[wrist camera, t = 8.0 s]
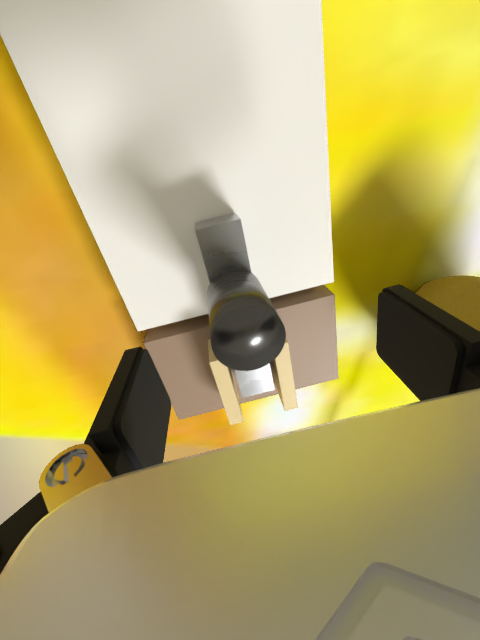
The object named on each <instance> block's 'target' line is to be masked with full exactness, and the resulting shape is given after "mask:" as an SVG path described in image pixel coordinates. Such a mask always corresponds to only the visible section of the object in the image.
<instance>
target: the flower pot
mask: <svg viewBox="0 0 480 640" xmlns="http://www.w3.org/2000/svg"><path fill="white" fill-rule="evenodd" d="M416 294H417V295H419V296H421V297H422V298H424V299H426V300H427V301H429V302H431V303H432V304H434V305H436V306H437V307H439V308H441V309H443V310H444V311H446V312H448V313H449V314H451V315H453V316H454V317H456V318H458V319H459V320H461V321H463V322H464V323H466V324H468V325H470V326H471V327H473V328H475V329H476V330H478V331H480V277H474V276H451V277H445V278H440V279H437V280H433V281H431V282H428V283H426V284H424V285H423V286H422V287H421V288H420V289H419V290H418V291H417V292H416Z"/></svg>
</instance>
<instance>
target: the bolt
mask: <svg viewBox="0 0 480 640" xmlns="http://www.w3.org/2000/svg"><path fill="white" fill-rule="evenodd" d="M195 232H196V236H197V239H198V243H199V246H200V250H201V253H202V257H203V260H204V264H205V267H206V271H207V274H208V278H209V282H210V284H209V286H208V290H207V302H208V313H209V325H210V337H211V347H212V351H213V353H214V355H215V357H216V358H217V359H218V361H220V362H221V363H222V364H223V365H225V366H226V367H228V368H231V369H234V370H235V373H236V377H237V380H238V384H239V388H240V391H241V395H242V398H245V397H249V396H253V395H257V394H261V393H265V392H268V391H272V390H275V388H274V383H273V378H272V373H271V368H270V363H271V362H272V361H273V360H274V359H275V358H276V357H277V356H278V355H279V354H280V352H281V351H282V349H283V347H284V344H285V340H286V331H285V327H284V325H283V322H282V321H281V319H280V317H279V315H278V314H277V312H276V310H275V308H274V307H273V305H272V303H271V301H270V299H269V298H268V296H267V294H266V292H265V291H264V289H263V287H262V285H261V284H260V282H259V280H258V279H257V277H256V276H255V275H254V274H253V273H251V268H250V263H249V258H248V253H247V248H246V243H245V238H244V233H243V228H242V223H241V219H240V218H239V216H238V215H237V214H236V213H231V214H227V215H223V216H219V217H215V218H211V219H207V220H203V221H199V222H195Z"/></svg>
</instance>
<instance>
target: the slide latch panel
mask: <svg viewBox="0 0 480 640" xmlns="http://www.w3.org/2000/svg"><path fill="white" fill-rule="evenodd" d="M0 35H1V37H2V39H3V42H4V44H5V46H6V48H7V50H8V52H9V54H10V57H11V59H12V61H13V63H14V65H15V67H16V70H17V72H18V74H19V76H20V78H21V80H22V83H23V85H24V87H25V89H26V91H27V93H28V95H29V98H30V100H31V102H32V104H33V106H34V108H35V111H36V113H37V115H38V117H39V119H40V121H41V123H42V126H43V128H44V130H45V132H46V134H47V136H48V139H49V141H50V143H51V145H52V147H53V149H54V152H55V154H56V156H57V158H58V160H59V162H60V164H61V167H62V169H63V171H64V173H65V175H66V177H67V180H68V182H69V184H70V186H71V188H72V190H73V192H74V195H75V197H76V199H77V201H78V203H79V205H80V208H81V210H82V212H83V214H84V216H85V218H86V221H87V223H88V225H89V227H90V229H91V231H92V233H93V236H94V238H95V240H96V242H97V244H98V246H99V249H100V251H101V253H102V255H103V257H104V259H105V261H106V264H107V266H108V268H109V270H110V272H111V274H112V277H113V279H114V281H115V283H116V285H117V287H118V290H119V292H120V294H121V296H122V298H123V300H124V302H125V305H126V307H127V309H128V311H129V313H130V315H131V318H132V320H133V322H134V324H135V326H136V328H137V331H142V330H146V329H148V330H147V333H146V336H145V340H144V346H145V348H146V349H147V350H148V352H149V354H150V356H151V358H152V360H153V362H154V364H155V367H156V369H157V371H158V373H159V375H160V378H161V380H162V382H163V384H164V386H165V388H166V391H167V393H168V395H169V397H170V400H171V404H172V406H173V408H174V410H175V412H176V415H177V417H178V419H179V420H180V419H184V418H188V417H192V416H195V415H199V414H203V413H207V412H211V411H215V410H218V409H222V408H225V411H226V414H227V417H228V420H229V423H230V425H233V424H237V423H240V422H243V417H242V412H241V406H240V404H241V403H245V402H249V401H253V400H257V399H261V398H265V397H268V396H272V395H276V394H279V396H280V399H281V402H282V404H283V407H284V410H285V411H286V410H290V409H294V408H298V405H297V398H296V392H295V389H299V388H303V387H307V386H311V385H314V384H318V383H322V382H326V381H330V380H334V379H338V359H337V337H336V315H335V295H334V294H333V293H332V292H331V291H330V290H329V289H328V288H327V287H325V286H324V284H328V283H332V282H334V271H333V249H332V227H331V205H330V183H329V161H328V139H327V118H326V96H325V74H324V52H323V30H322V8H321V0H0ZM231 213H236V214H237V215H238V216H239V218H240V219H241V223H242V228H243V233H244V238H245V243H246V248H247V253H248V258H249V263H250V268H251V273H253V274H254V275H255V276H256V277H257V279H258V280H259V282H260V284H261V285H262V287H263V289H264V291H265V292H266V294H267V296H268V298H269V299H270V301H271V303H272V305H273V307H274V308H275V310H276V312H277V314H278V315H279V317H280V319H281V321H282V322H283V325H284V327H285V331H286V340H285V344H284V347H283V349H282V351H281V352H280V354H279V355H278V356H277V357H276V358H275V359H274V360H273V361H272V362H271V363H270V368H271V373H272V378H273V383H274V388H275V390H272V391H268V392H265V393H261V394H257V395H253V396H249V397H245V398H242V395H241V391H240V388H239V384H238V380H237V377H236V373H235V370H234V369H231V368H228V367H226V366H225V365H223V364H222V363H221V362H220V361H218V359H217V358H216V357H215V355H214V353H213V351H212V347H211V337H210V325H209V313H208V302H207V290H208V286H209V284H210V282H209V278H208V274H207V271H206V267H205V264H204V260H203V257H202V253H201V250H200V246H199V243H198V239H197V236H196V232H195V222H199V221H203V220H207V219H211V218H215V217H219V216H223V215H227V214H231Z"/></svg>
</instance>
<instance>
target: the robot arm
mask: <svg viewBox="0 0 480 640" xmlns="http://www.w3.org/2000/svg"><path fill="white" fill-rule="evenodd" d="M376 349H377V353H378V355H379V357H380V358H381V359H382V360H383V361H384V362H385V363H386V364H387V365H388V366H389V367H390V369H391V370H392V371H393V372H394V373H395V374H396V375H397V376H398V377H399V378H400V379H401V380H402V382H403V383H404V384H405V385H406V386H407V387H408V388H409V389H410V390H411V391H412V392H413V393H414V394H415V396H416V397H417V398H418V399H419V400H420V401H419V402H415V403H411V404H406V405H402V406H398V407H393V408H389V409H385V410H380V411H376V412H372V413H367V414H363V415H359V416H354V417H350V418H346V419H342V420H338V421H333V422H329V423H325V424H321V425H316V426H312V427H308V428H304V429H300V430H295V431H291V432H287V433H283V434H279V435H274V436H270V437H266V438H262V439H258V440H254V441H250V442H245V443H241V444H237V445H233V446H229V447H225V448H221V449H217V450H213V451H208V452H205V453H200V454H196V455H192V456H188V457H184V458H180V459H176V460H172V461H168V462H164V463H163V459H164V452H165V445H166V438H167V431H168V424H169V417H170V410H171V400H170V397H169V395H168V393H167V391H166V388H165V386H164V384H163V382H162V380H161V378H160V375H159V373H158V371H157V369H156V367H155V364H154V362H153V360H152V358H151V356H150V354H149V352H148V350H147V349H144V350H143V348H142V347H137V348H133V349H128V350H125V352H124V354H123V356H122V359H121V361H120V363H119V365H118V368H117V370H116V372H115V374H114V377H113V379H112V381H111V384H110V386H109V388H108V390H107V393H106V395H105V397H104V399H103V402H102V404H101V406H100V408H99V411H98V413H97V415H96V417H95V420H94V422H93V424H92V426H91V429H90V431H89V433H88V436H87V438H86V440H85V442H84V444H79V445H75V446H72V447H70V448H68V449H66V450H64V451H63V452H61V453H60V454H58V455H57V456H56V457H55V458H54V459H52V461H51V462H50V463H49V464H48V465H47V466H46V468H45V469H44V471H43V473H42V474H41V477H40V480H39V487H40V490H41V492H40V493H38V494H37V495H36V496H35V497H34V498H32V499H31V500H30V501H29V502H28V503H26V504H25V505H24V506H23V507H22V508H20V509H19V510H18V511H17V512H16V513H14V514H13V515H12V516H11V517H10V518H8V519H7V520H6V521H5V522H4V523H2V524H1V525H0V640H480V331H478V330H476V329H475V328H473V327H471V326H470V325H468V324H466V323H464V322H463V321H461V320H459V319H458V318H456V317H454V316H453V315H451V314H449V313H448V312H446V311H444V310H443V309H441V308H439V307H437V306H436V305H434V304H432V303H431V302H429V301H427V300H426V299H424V298H422V297H421V296H419V295H417V294H416V293H414V292H412V291H410V290H409V289H407V288H405V287H404V286H402V285H396V286H391V287H387V288H384V289H383V291H382V293H380V294H379V296H378V319H377V345H376Z"/></svg>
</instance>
